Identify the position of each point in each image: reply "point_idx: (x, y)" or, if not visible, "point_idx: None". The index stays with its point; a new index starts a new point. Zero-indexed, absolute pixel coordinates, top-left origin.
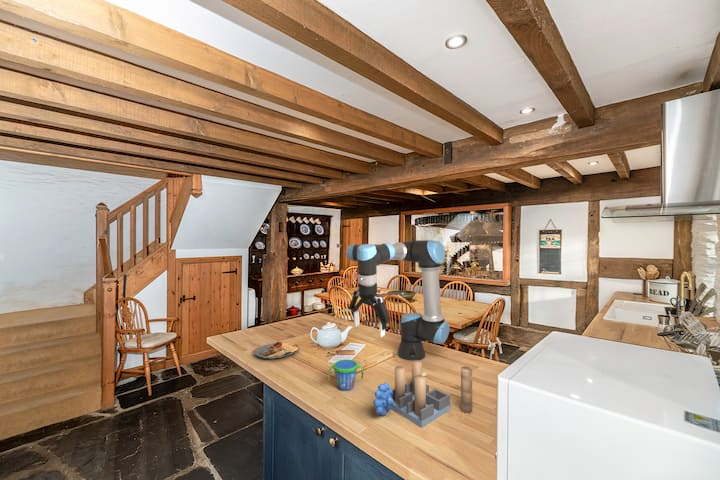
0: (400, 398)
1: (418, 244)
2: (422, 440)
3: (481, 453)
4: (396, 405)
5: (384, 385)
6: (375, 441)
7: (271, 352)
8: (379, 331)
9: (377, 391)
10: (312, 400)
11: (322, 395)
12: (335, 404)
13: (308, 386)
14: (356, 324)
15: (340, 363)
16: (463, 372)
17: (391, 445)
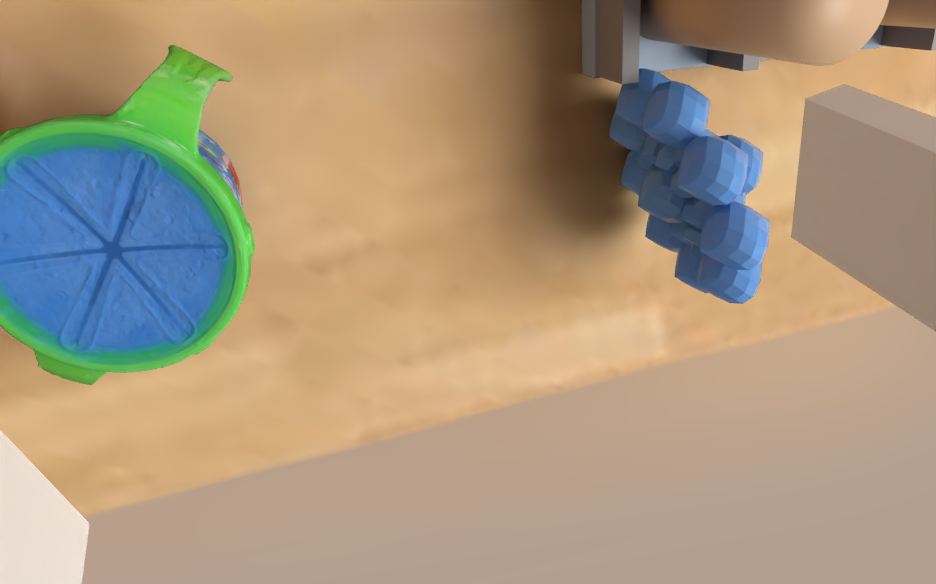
0: (750, 58)
1: None
2: None
3: None
4: (676, 56)
5: (732, 200)
6: (760, 321)
7: None
8: (901, 308)
9: (752, 296)
10: (243, 449)
11: (211, 381)
12: (363, 352)
13: (28, 420)
14: (55, 546)
15: (33, 279)
16: None
17: (829, 275)
